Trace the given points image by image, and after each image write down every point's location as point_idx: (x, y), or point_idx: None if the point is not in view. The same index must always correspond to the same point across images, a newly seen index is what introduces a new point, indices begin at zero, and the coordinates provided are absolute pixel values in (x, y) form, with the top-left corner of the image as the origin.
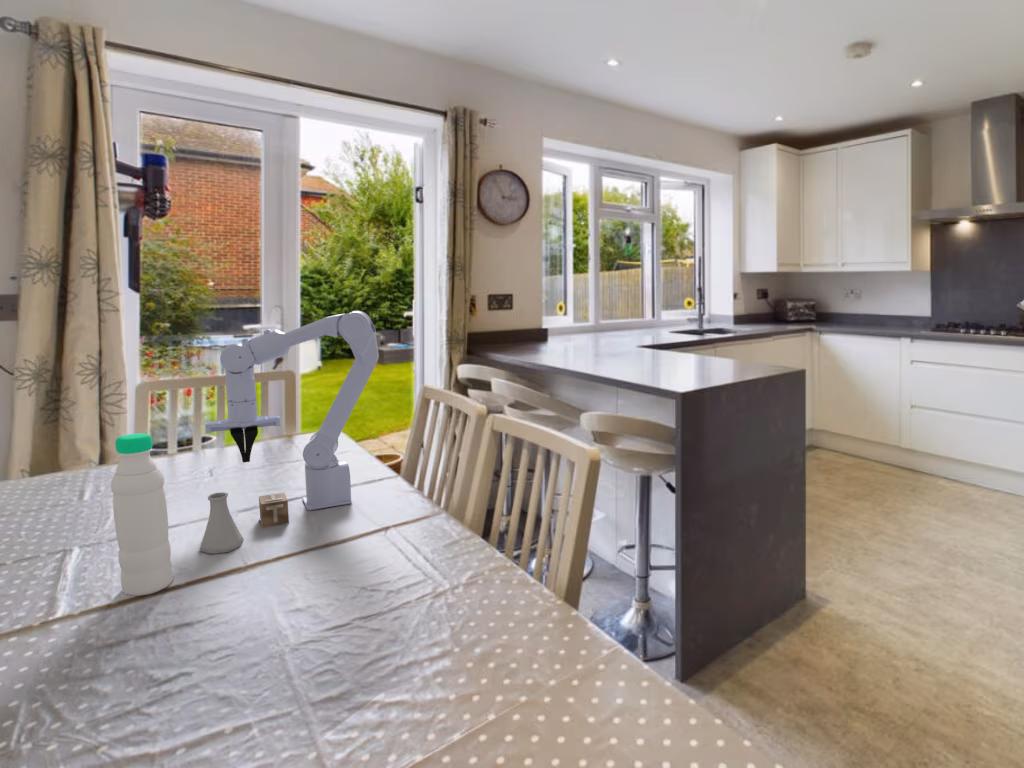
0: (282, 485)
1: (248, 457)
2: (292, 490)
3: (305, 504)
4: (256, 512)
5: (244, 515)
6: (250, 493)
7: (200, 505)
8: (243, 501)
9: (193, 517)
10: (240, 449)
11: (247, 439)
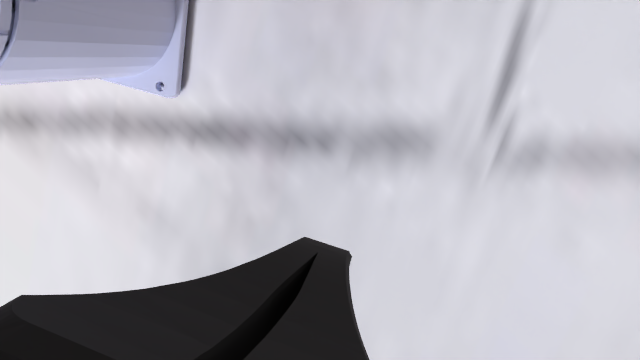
0: None
1: (299, 245)
2: (187, 227)
3: (186, 8)
4: (375, 79)
5: (430, 77)
6: None
7: (529, 328)
8: (372, 246)
9: (620, 213)
10: (343, 305)
11: (208, 329)
